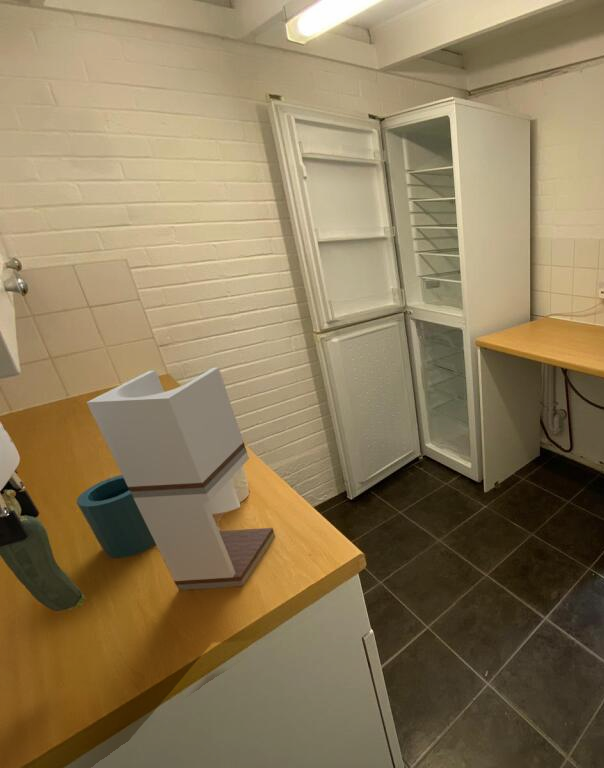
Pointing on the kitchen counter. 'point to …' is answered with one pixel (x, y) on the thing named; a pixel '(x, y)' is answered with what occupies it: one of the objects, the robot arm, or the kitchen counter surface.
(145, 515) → the white coffee maker
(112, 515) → the jar
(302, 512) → the kitchen counter surface
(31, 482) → the kitchen counter surface
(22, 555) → the vegetable
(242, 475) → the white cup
